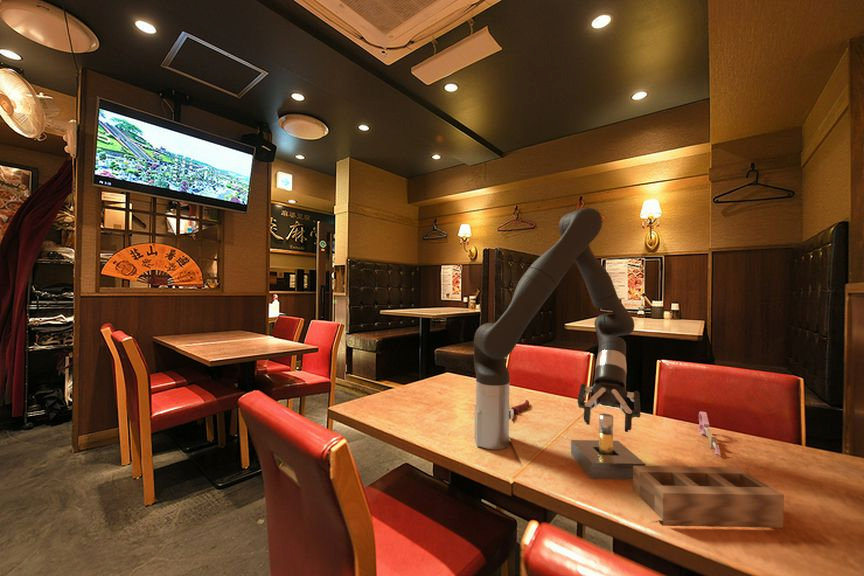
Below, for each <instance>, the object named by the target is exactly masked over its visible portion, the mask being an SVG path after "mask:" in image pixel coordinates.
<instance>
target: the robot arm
mask: <svg viewBox="0 0 864 576" xmlns="http://www.w3.org/2000/svg"><path fill="white" fill-rule="evenodd" d="M602 226H603V217H602V215H601V213H600V212H599V210H597V209H595V208H593V207H592V208H591V207H584V208H579V209H576V210H574V211H571V212H568V213H566V214H564V215H563V216H562V217H561V218H560V220H559V223H558V231H559V234H560V238H559V239H558V241H557V242H556V243H555V244H554V245H553V246H551V247H550V248H549V249H547V250H546V251H545V252H544V253H543V254H541V255H540V256H539V257H538V258H537V259H535V261H533V262H532V264H531V265H530V266H529V267H528V268H527V270H526V271H525V272H524V273H523V275H522V276H521V278H520V279H519V281H518V282H517V284H516V287H515V290H514V293H513V295H512V298H511V301H510V303H509V305H508V307H507V309H505V311H504V312H503V313H502V315H501V316H500V317H499V318H498V319H497V321H495V322H486V323H484V324H482V325H480V326H479V327H478V328H477V329H476V331H475V332H474V336H473V337H474V338H473V363H474V364H473V366H474V372H475V378H476V379H475V381H476V382H475V389H476V390H475V405H474V437H473V438H474V440H475V444H476V445H475V446H476V447H478V448H484V449H488V450H503V449H505V448H507V447H509V444H510V415H509V407H510V377H511V375H510V371H509V369H508V368H507V365H506V360H505V359H506V358H507V356H509V355H510V354H511V353H512V351H514V349H515V347H516V345H517V344H518V342H519V340H520V339H521V337H522V335H523V334H524V332H525V330H526V328H527V326H528V325H529V323H530V322H531V321H532V319H533V318H534V317H535V316H536V314H537V313H538V312H539V311H540V310H541V307H543V305H544V304H545V302H546V301H547V300H548V299H549V297H550V296H552V295H551V294H552V293H553V292H554V291H555V289H556V288H557V287H558V286H559V284H560V282H561V280H562V279H563V278H564V276H565V275H566V274H567V273H568V271H569V270H570V268H572V265H573V264H574V262H575V264H576V266H577V267H578V269H579V272H580V274H581V276H582V278H583V280H584V283H585V285H586V288H587V291H588V294H589V297H590V299H591V302H592V305H593V306H594V308H596V309H601V310H608V311H611V312H610V313H603V314H599V315H598V316H596V318H595V320H594V328H595V331H596V336H597V339H598V348H597V349H598V350H597V358H596V361H595V370H594V371H595V372H594V379H593V385H592V386H588V385H586V384H585V383H581V384H580V388H579V393H578V397H577V407H578V408H580V409H583V410H584V411H583V421H584V422H585V423H586V425H588V426H590V423H591V417H592V416H591V414H592V410H593V409H594V408H596V407H597V406H599V405H601V406H604V407H607V406H609V407H610V408H611V407H612V408H616V407H618V408H619V409H620V411H621V412H623V414H624V432H625V433H629V431H632V426H633V425H632V422H633V420H632V419H633V418H641V412H642V410H641V397H640V392H639V391H638V390H634V391H633V392H630V391H627V388H626V387H627V373H628V371H627V370H628V369H627V359H626V358H627V343H626V341H625V340H624V338H622V337H621V336H628V335H630V334H632V333H633V332H634V330H635V321H634V319H633V317H632V315H631V313H630V312H629V311H628V310H627V308H625V306H624V304H623V303H622V301H621V300H620V298H619V296H618V294H617V291H616V288H615V285H614V283H613V280H612V278H611V275H610V274H609V273H608V271H607V270H606V268H605V267H604V266H603V265H602V263H601V262H600V261H599V260H598V258H597V257H596V256H595V255H594V253H593V251H592V248H591V246H590V244H591V243H592V242H593V241H594V240H595V239H596V238H597V237H598V235H599V233H600V232H601V230H602ZM590 392H591V394H592V396H591V397H590V398H589V399H588V400H587V401H586V402H585V400H586V396H587V395H589V394H590ZM627 398H629V399H630V401H631V402H633V404H634V409H631V408H630V407H629V406H628V404H627V402H626V401H625V400H626V399H627Z"/></svg>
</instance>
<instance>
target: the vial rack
mask: <svg viewBox="0 0 864 576" xmlns="http://www.w3.org/2000/svg"><path fill="white" fill-rule="evenodd" d="M632 490H633V492H635V493H636V495H638V497H640V498H641V500H642V501H643V502H644V503H645V504H646V505H647V506H648V507H649V508H650V509H651V510H652V511H653V512H654V513H655V514H656V515H657V517H659V518H660V519H659V520H657V521H658V522H659V523H660V525H662V526H664V527H665V526H668V527H669V526H670V527H672V526H674V527H721V528H722V527H723V528H724V527H726V528H727V527H729V528H730V527H731V528H734V527H735V528H777V529H778V528H779V529H783V528H784V510H785V509H784V505H785V503H784V502H785V501H784V498H785V496H784V494H783V493H781V492H779V491H778V490H776V489H775V488H773V487H771V486H769V485H768V484H766V483H765V482H762V481H761V480H759V479H757V478H756V477H755V476H753V475H751V474H749V473H747V472H746V471H744V470H742V469H741V468H739V467H738V466H737V467H732V466H731V467H729V466H727V467H726V466H723V467H722V466H669V465H667V466H665V465H657V466H656V465H646V466H633V480H632Z"/></svg>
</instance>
